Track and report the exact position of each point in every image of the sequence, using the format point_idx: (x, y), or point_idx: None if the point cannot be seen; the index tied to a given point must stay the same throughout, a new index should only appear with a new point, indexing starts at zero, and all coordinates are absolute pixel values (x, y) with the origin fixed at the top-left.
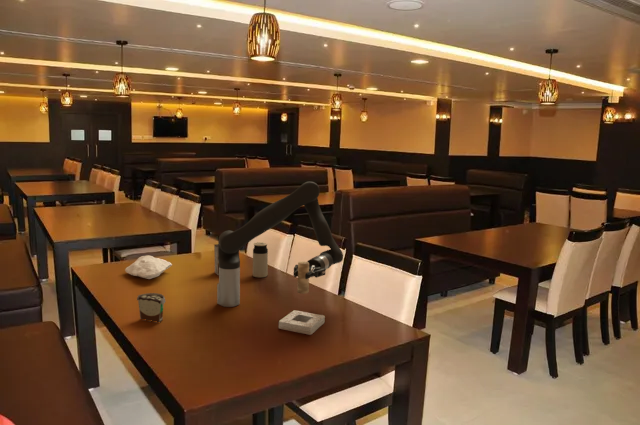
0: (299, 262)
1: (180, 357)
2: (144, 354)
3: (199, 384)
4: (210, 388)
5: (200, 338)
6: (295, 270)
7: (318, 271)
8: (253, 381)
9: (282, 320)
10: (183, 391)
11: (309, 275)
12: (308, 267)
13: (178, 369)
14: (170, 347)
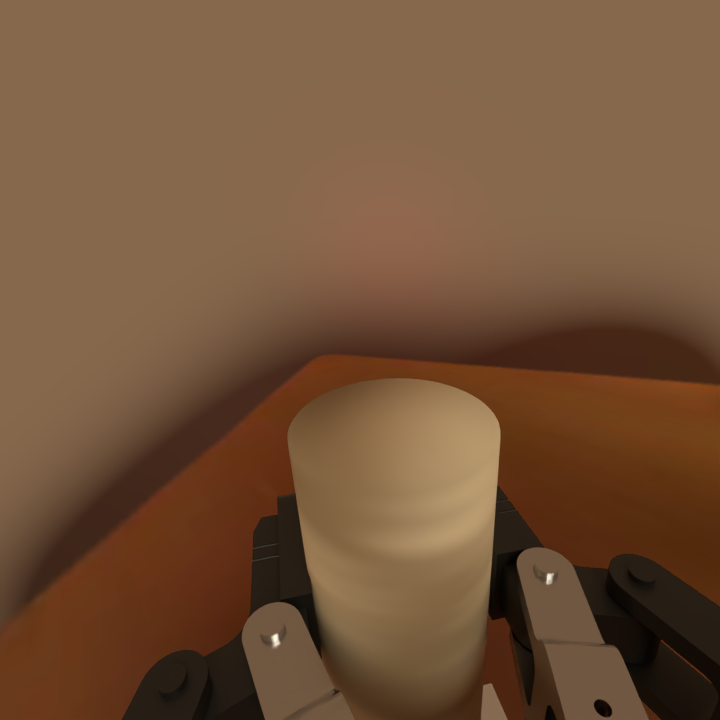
0: (471, 410)
1: (490, 395)
2: (555, 373)
3: (360, 377)
4: (333, 379)
5: (583, 454)
6: (589, 576)
7: (129, 713)
8: (275, 417)
9: (487, 713)
10: (364, 362)
11: (257, 538)
12: (297, 496)
13: (440, 379)
14: (562, 402)
